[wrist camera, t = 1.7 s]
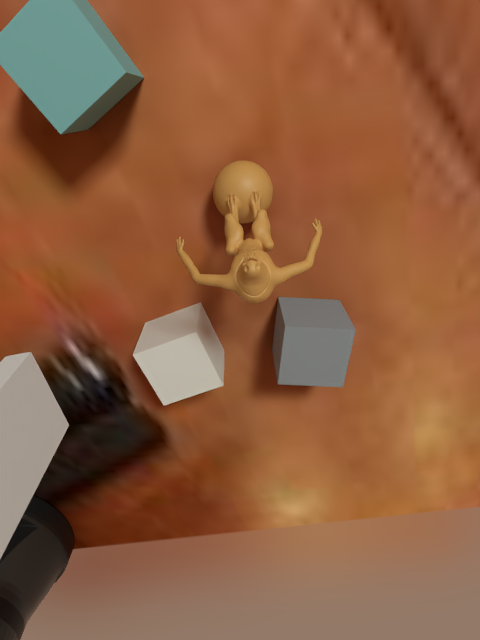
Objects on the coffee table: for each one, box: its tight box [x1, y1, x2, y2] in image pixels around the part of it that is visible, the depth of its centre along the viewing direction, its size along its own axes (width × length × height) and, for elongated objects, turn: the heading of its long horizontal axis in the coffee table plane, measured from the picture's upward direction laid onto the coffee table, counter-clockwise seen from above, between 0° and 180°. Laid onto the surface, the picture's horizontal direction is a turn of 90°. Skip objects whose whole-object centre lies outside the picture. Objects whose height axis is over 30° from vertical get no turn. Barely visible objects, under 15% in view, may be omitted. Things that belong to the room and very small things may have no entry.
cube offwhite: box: [133, 302, 224, 405], centre depth 33 cm, size 5×5×5 cm
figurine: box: [176, 161, 322, 304], centre depth 24 cm, size 8×6×12 cm
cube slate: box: [272, 297, 356, 387], centre depth 32 cm, size 5×5×5 cm
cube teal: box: [0, 0, 144, 134], centre depth 24 cm, size 5×5×5 cm
